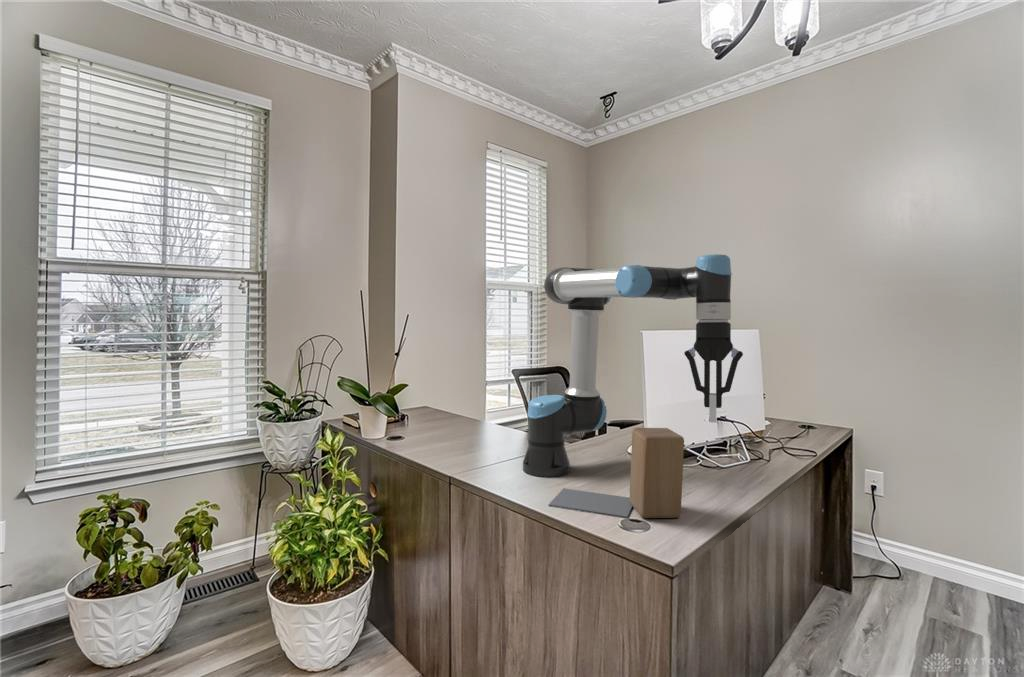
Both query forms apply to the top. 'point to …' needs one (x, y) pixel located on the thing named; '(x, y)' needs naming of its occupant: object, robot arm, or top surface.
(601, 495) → the mat
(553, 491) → the top surface
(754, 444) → the top surface
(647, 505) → the block
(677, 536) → the top surface
